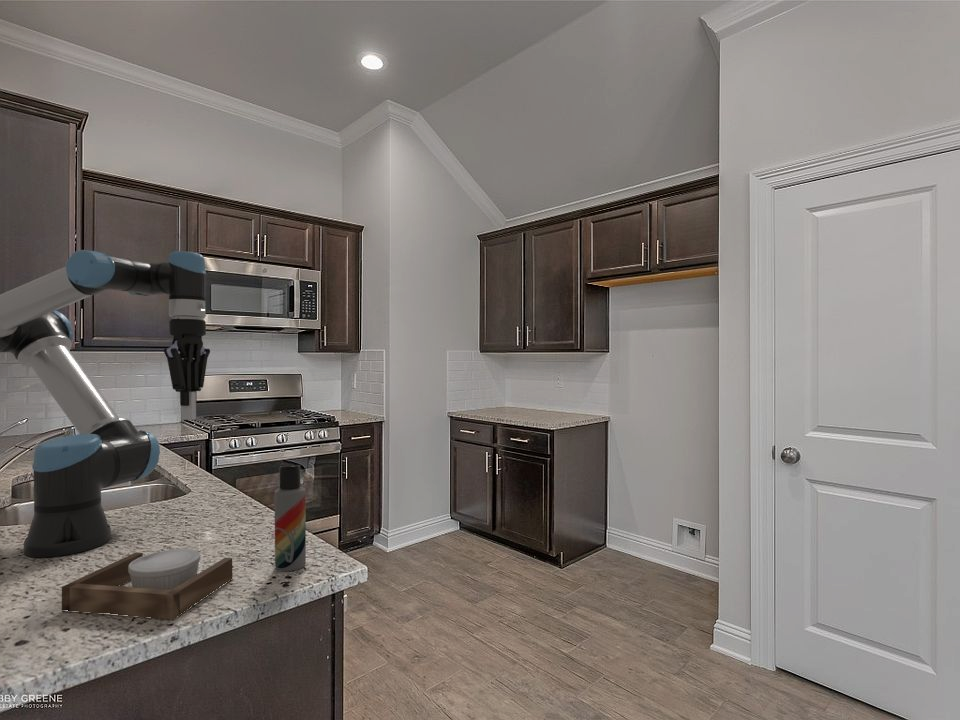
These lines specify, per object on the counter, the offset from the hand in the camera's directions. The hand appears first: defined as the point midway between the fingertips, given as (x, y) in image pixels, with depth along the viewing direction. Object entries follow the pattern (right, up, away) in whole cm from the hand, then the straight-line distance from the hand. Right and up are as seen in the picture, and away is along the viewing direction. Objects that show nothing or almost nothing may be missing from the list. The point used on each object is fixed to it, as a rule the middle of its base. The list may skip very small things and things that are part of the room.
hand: (188, 419), depth 125 cm
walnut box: (+12, -27, -33) cm, 44 cm away
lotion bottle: (+31, -27, -21) cm, 46 cm away
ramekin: (+12, -27, -30) cm, 42 cm away
